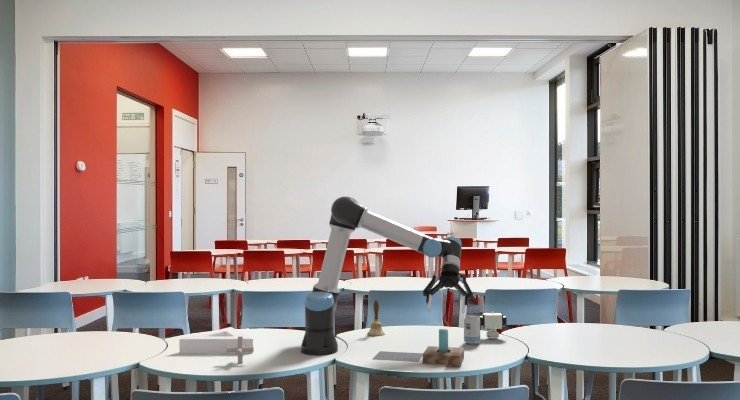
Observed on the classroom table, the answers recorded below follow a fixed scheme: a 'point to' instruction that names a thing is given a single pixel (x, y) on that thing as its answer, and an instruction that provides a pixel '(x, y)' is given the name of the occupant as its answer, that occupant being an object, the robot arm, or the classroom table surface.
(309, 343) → the robot arm
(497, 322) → the pneumatic valve
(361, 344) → the classroom table surface
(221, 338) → the triangle block
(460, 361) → the hole block
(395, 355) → the mat
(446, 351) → the peg
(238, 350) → the pipe connector
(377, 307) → the hand bell
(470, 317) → the beverage can
